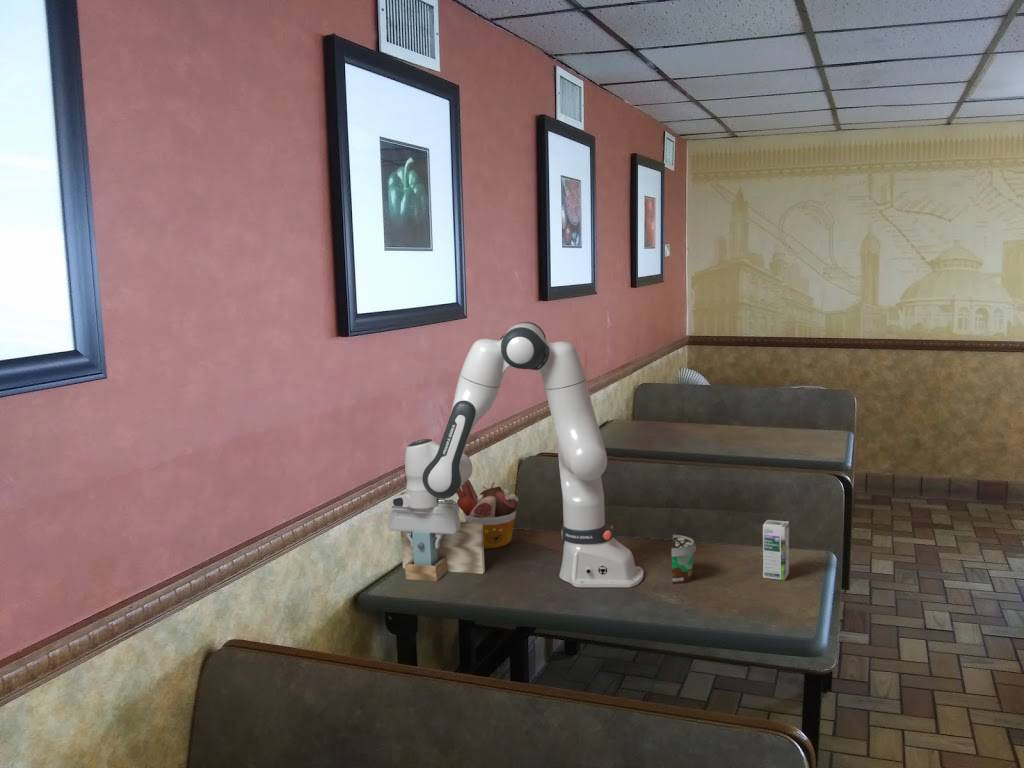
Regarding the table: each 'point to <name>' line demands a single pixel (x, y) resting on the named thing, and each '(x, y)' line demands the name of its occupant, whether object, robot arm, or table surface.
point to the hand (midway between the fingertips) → (425, 547)
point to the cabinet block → (424, 548)
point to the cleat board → (449, 554)
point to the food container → (682, 559)
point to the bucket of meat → (489, 512)
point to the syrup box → (776, 549)
